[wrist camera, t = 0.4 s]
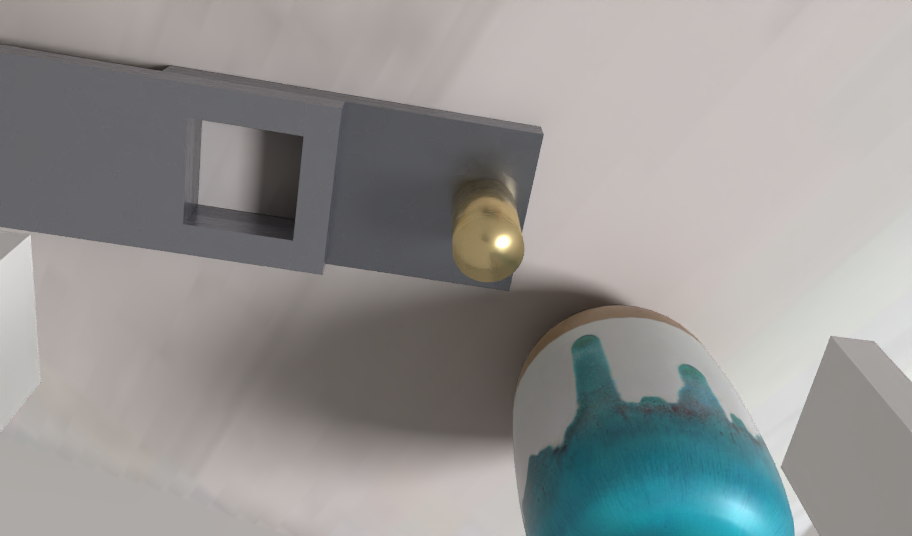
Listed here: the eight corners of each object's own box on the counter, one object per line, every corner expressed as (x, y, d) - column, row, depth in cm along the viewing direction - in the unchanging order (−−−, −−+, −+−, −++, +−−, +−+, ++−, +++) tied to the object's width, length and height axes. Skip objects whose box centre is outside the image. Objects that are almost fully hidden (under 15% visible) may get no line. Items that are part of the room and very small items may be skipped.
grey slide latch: (-38, 30, 37) (-120, 57, 32) (540, 127, 39) (556, 167, 34) (-26, 199, 40) (-99, 249, 35) (507, 280, 43) (516, 339, 37)
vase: (514, 455, 47) (554, 794, 30) (493, 286, 43) (525, 568, 25) (704, 434, 47) (859, 765, 29) (703, 261, 42) (884, 530, 25)
